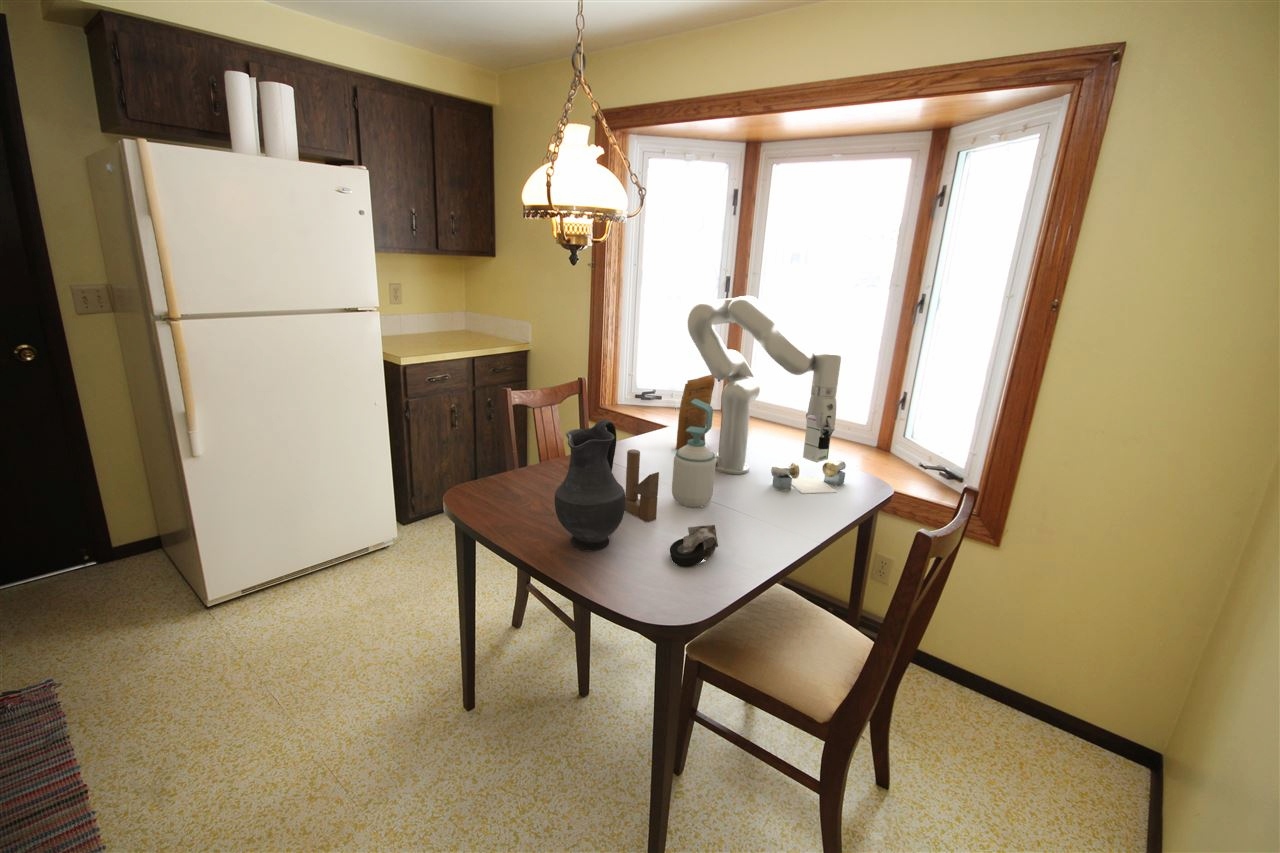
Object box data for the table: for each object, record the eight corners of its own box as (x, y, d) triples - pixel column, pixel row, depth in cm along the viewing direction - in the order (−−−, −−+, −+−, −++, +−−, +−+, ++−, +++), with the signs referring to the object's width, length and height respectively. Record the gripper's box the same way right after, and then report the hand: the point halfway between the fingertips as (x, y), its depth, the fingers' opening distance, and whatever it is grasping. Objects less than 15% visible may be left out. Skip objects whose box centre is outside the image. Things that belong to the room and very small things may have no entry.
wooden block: (647, 523, 151) (650, 461, 146) (621, 509, 159) (623, 450, 154) (656, 519, 154) (660, 458, 149) (631, 506, 161) (633, 447, 156)
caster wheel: (671, 575, 131) (673, 549, 140) (719, 571, 129) (718, 545, 138) (667, 552, 128) (669, 527, 137) (715, 548, 127) (714, 523, 136)
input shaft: (774, 490, 178) (777, 467, 175) (768, 484, 182) (770, 461, 180) (797, 489, 179) (800, 466, 177) (790, 483, 184) (793, 460, 182)
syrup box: (817, 463, 176) (823, 419, 172) (801, 457, 181) (807, 414, 176) (827, 459, 179) (834, 416, 175) (812, 454, 184) (818, 412, 180)
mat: (801, 493, 176) (802, 493, 176) (785, 479, 187) (785, 478, 187) (836, 492, 178) (836, 491, 178) (818, 478, 190) (818, 477, 189)
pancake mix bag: (715, 444, 221) (721, 375, 213) (681, 453, 209) (686, 380, 201) (702, 440, 226) (708, 372, 218) (669, 448, 214) (673, 377, 206)
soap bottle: (678, 490, 174) (684, 394, 165) (716, 498, 170) (725, 399, 161) (665, 505, 163) (672, 402, 154) (706, 513, 159) (715, 408, 150)
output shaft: (833, 487, 182) (837, 464, 180) (820, 482, 186) (823, 460, 183) (846, 482, 187) (849, 460, 185) (832, 478, 191) (835, 456, 188)
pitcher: (542, 549, 135) (541, 431, 127) (581, 515, 154) (583, 411, 145) (606, 565, 129) (610, 443, 121) (639, 528, 148) (644, 420, 139)
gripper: (849, 397, 166) (841, 453, 171) (820, 385, 183) (814, 436, 188) (826, 397, 165) (819, 454, 170) (799, 385, 181) (793, 437, 186)
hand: (816, 444), depth 179 cm, fingers closed on syrup box, 7 cm apart
